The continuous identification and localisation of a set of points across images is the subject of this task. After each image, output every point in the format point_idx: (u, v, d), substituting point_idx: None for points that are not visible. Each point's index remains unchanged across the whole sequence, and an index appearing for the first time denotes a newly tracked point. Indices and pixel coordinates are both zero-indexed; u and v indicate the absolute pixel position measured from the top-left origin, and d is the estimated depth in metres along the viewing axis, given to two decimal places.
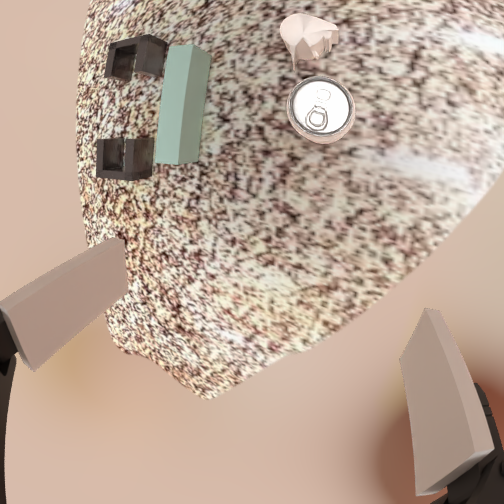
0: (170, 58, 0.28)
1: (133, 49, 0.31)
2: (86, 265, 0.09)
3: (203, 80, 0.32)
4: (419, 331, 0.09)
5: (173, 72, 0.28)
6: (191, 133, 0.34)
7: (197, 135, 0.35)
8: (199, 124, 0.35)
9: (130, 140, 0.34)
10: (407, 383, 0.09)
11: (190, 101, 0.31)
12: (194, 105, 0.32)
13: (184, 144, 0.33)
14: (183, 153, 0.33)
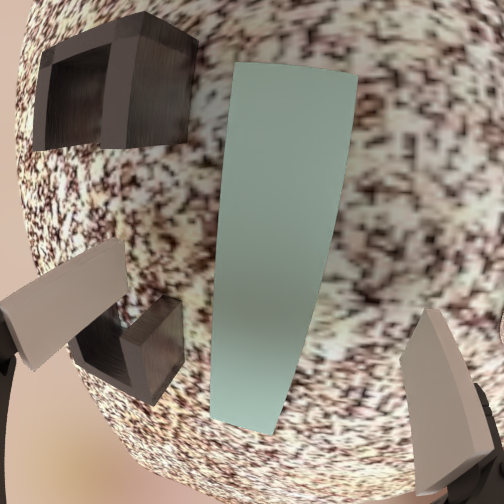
0: (244, 120, 0.07)
1: (101, 61, 0.10)
2: (86, 265, 0.09)
3: None
4: (419, 331, 0.09)
5: (263, 194, 0.08)
6: None
7: None
8: None
9: (131, 345, 0.14)
10: (407, 383, 0.09)
11: None
12: None
13: None
14: None
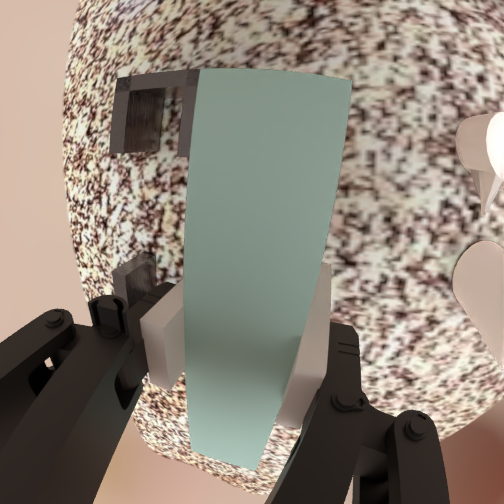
0: (210, 141, 0.06)
1: (164, 93, 0.18)
2: None
3: None
4: None
5: (233, 232, 0.07)
6: None
7: None
8: None
9: None
10: None
11: None
12: None
13: None
14: None
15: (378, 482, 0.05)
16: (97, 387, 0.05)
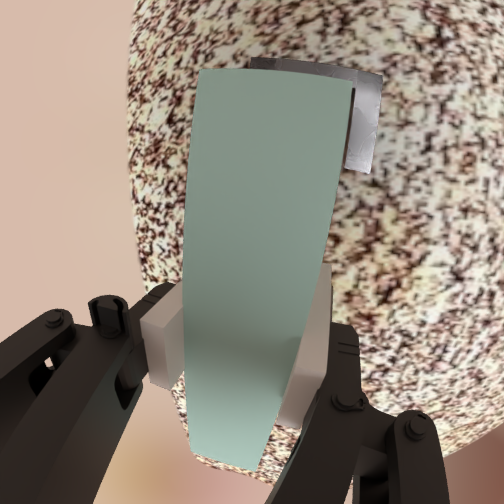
0: (210, 142, 0.06)
1: None
2: None
3: None
4: None
5: (233, 233, 0.07)
6: None
7: None
8: None
9: None
10: None
11: None
12: None
13: None
14: None
15: (378, 482, 0.05)
16: (97, 387, 0.05)
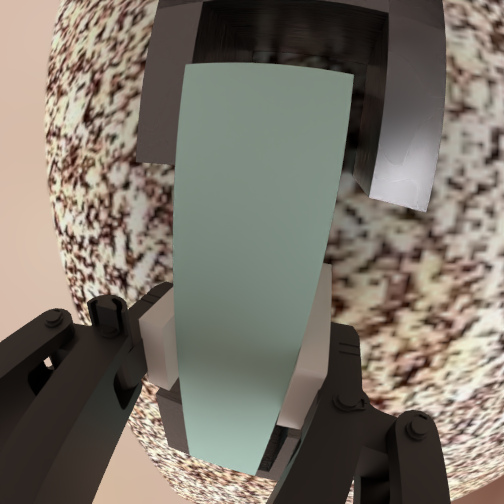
0: (197, 143, 0.06)
1: (282, 28, 0.07)
2: None
3: None
4: None
5: (224, 242, 0.06)
6: None
7: None
8: None
9: None
10: None
11: None
12: None
13: None
14: None
15: (379, 482, 0.05)
16: (96, 387, 0.05)
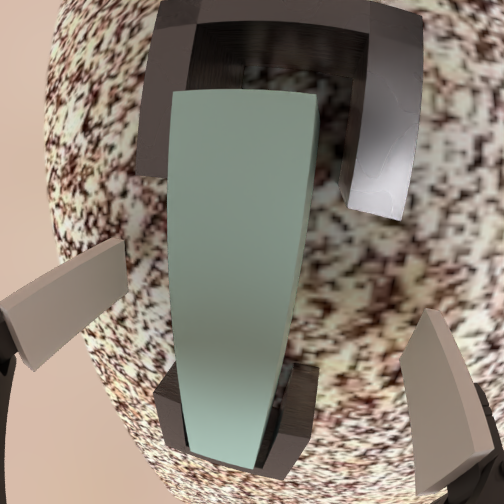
0: (185, 161, 0.07)
1: (271, 46, 0.07)
2: (86, 265, 0.09)
3: (306, 226, 0.11)
4: (419, 330, 0.09)
5: (211, 245, 0.07)
6: (275, 389, 0.12)
7: (280, 369, 0.14)
8: (286, 343, 0.14)
9: (294, 438, 0.10)
10: (407, 383, 0.09)
11: (284, 339, 0.10)
12: (287, 330, 0.11)
13: (264, 429, 0.12)
14: (261, 441, 0.12)
15: None
16: None
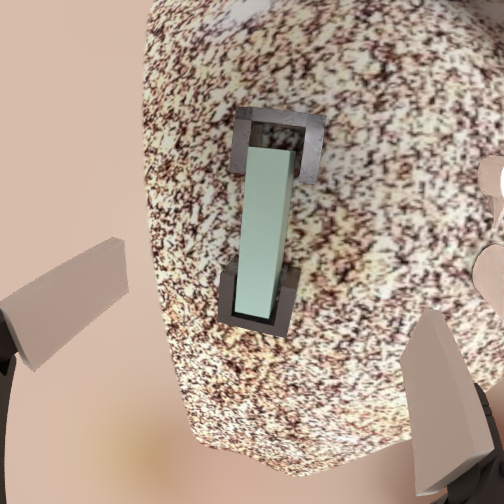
0: (252, 168, 0.23)
1: (275, 125, 0.24)
2: (86, 265, 0.09)
3: (290, 194, 0.27)
4: (419, 331, 0.09)
5: (259, 193, 0.23)
6: (278, 271, 0.29)
7: (280, 266, 0.30)
8: (283, 251, 0.30)
9: (289, 290, 0.27)
10: (407, 383, 0.09)
11: (282, 234, 0.26)
12: (283, 235, 0.27)
13: (274, 290, 0.28)
14: (272, 300, 0.28)
15: None
16: None
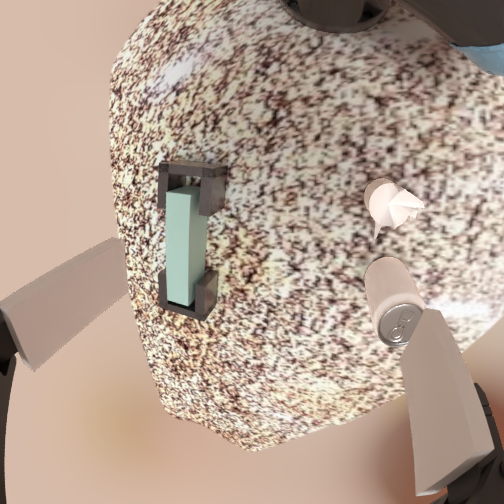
0: (169, 206, 0.34)
1: None
2: (86, 265, 0.09)
3: (203, 219, 0.39)
4: (419, 330, 0.09)
5: (174, 223, 0.35)
6: (197, 273, 0.40)
7: (201, 269, 0.42)
8: (203, 259, 0.42)
9: (200, 287, 0.38)
10: (407, 383, 0.09)
11: (193, 249, 0.37)
12: (197, 249, 0.39)
13: (192, 286, 0.39)
14: (192, 294, 0.40)
15: None
16: None
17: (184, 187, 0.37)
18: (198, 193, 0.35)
